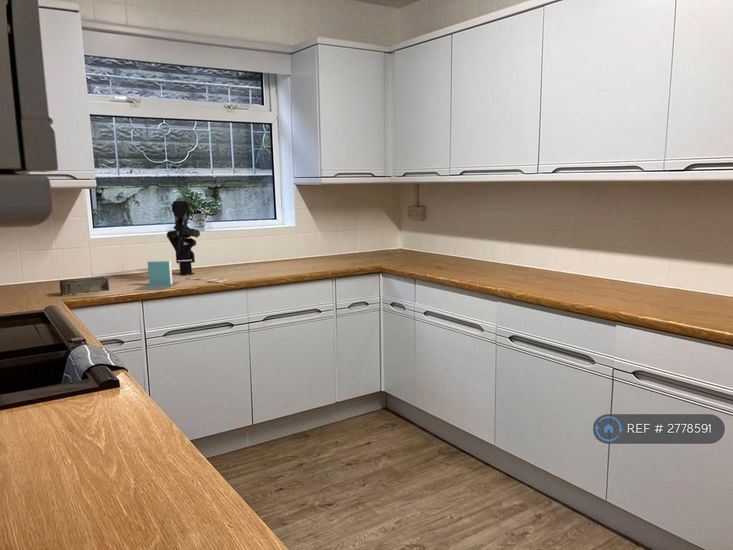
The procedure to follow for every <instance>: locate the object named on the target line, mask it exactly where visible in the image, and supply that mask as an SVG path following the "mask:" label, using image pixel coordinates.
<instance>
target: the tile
mask: <svg viewBox="0 0 733 550" xmlns="http://www.w3.org/2000/svg"><path fill="white" fill-rule="evenodd" d="M172 269H173V268H172V260H149V261H147V274H148V284H149V285H172V284H173V283H172V282H173V271H172Z"/></svg>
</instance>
